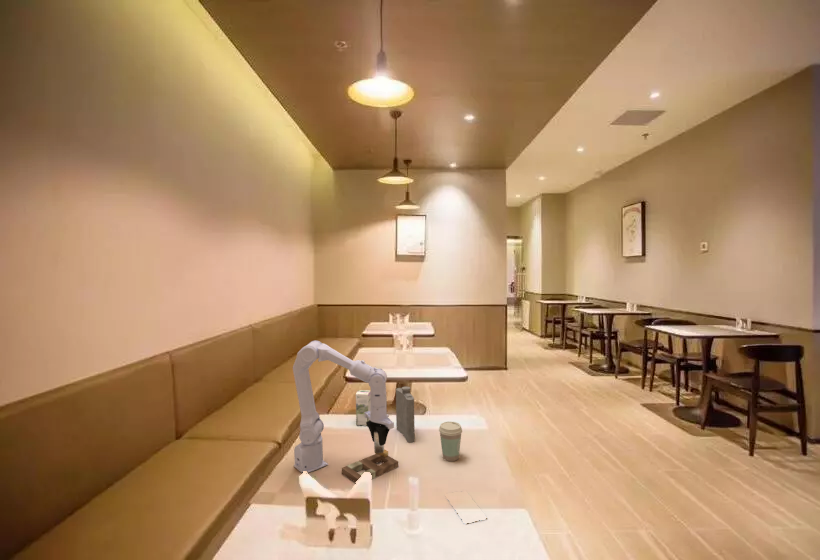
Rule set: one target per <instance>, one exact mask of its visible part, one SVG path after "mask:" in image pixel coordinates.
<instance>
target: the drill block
mask: <svg viewBox="0 0 820 560" xmlns="http://www.w3.org/2000/svg"><path fill="white" fill-rule="evenodd" d="M380 462H381V464H378V463H380ZM397 468H399V461H398V460H397V459H394V458H393V457H392V456H390V455H388V456H387V457H383V456H381V455H379V454H375V453H374V454H372V455H370V456H367V457H364V458H362V459H359V460H358V461H355V462H352V463H350V464H347V465H345V466H343V467H341V474H342V475H343V476H344V477H346V478H348V479H349V480H350V481H352V482H353V483H355V482H356V481H357V480H358V479H359V478H360V477H361V475H362V474H363V473H364V472H370V473H371V475H372V479H371V480H373V479H376V478H377V477H379V476H382V475H384V474H386V473H388V472H390V471H393V470H394V469H397ZM360 471H363V472H360ZM359 472H360V473H359ZM355 484H356V483H355Z"/></svg>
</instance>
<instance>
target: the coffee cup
mask: <svg viewBox="0 0 820 560" xmlns="http://www.w3.org/2000/svg"><path fill="white" fill-rule="evenodd" d="M438 432H439V435H440V444H441V452H442V458H443V459H444V460H445V461H448V462H455V461H457V460H459V459H460V451H461V443H462V441H461V439H462V433H463V427H462V426H461V424H460V423H459V422H456V421H444V422H442V423H440V426H439V428H438Z"/></svg>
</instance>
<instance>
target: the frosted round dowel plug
mask: <svg viewBox="0 0 820 560" xmlns="http://www.w3.org/2000/svg"><path fill="white" fill-rule="evenodd" d="M373 446H374V447H373V448H374V454H375V453H382V452H384V449H385V444H384V445H382V446H380V444H379V437H378V432H377V430H375V431H374V442H373Z"/></svg>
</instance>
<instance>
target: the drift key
mask: <svg viewBox="0 0 820 560" xmlns="http://www.w3.org/2000/svg"><path fill="white" fill-rule="evenodd" d="M374 454H379V455H381V456H383V457H387V456H389V451H388V450H387V449H385V448H384V452H382V453H375V452H374Z"/></svg>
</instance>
